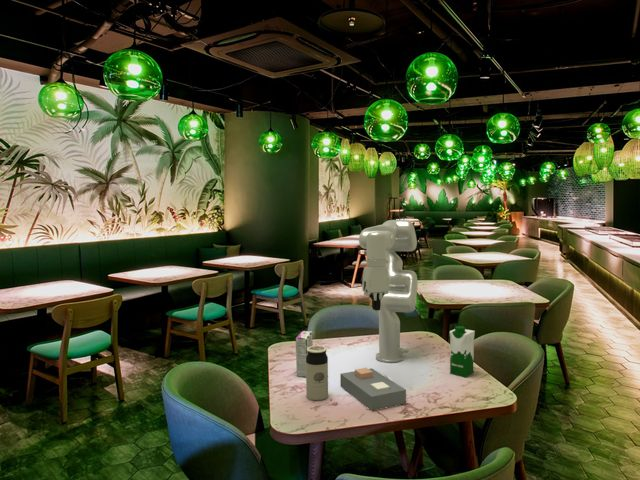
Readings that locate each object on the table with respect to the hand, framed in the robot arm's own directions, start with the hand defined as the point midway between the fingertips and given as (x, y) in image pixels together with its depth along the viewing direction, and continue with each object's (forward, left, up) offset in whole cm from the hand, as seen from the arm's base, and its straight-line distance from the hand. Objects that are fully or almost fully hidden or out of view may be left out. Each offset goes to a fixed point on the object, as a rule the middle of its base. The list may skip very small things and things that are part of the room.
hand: (376, 309), depth 178 cm
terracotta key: (+8, +4, -27) cm, 28 cm away
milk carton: (-37, +7, -29) cm, 48 cm away
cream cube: (+8, +16, -28) cm, 34 cm away
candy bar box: (+22, -22, -29) cm, 43 cm away
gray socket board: (+8, +10, -29) cm, 32 cm away
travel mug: (+27, +3, -29) cm, 40 cm away
